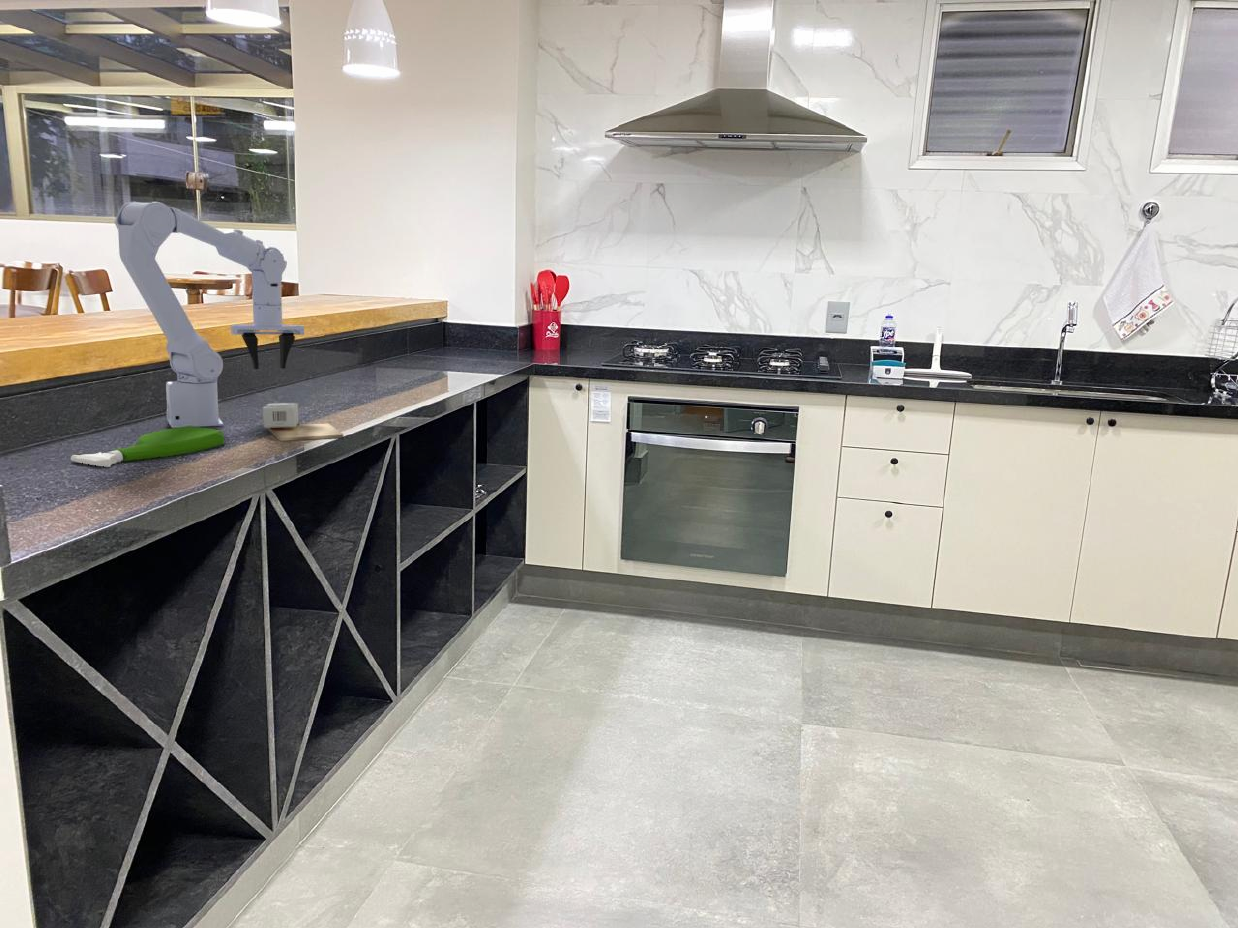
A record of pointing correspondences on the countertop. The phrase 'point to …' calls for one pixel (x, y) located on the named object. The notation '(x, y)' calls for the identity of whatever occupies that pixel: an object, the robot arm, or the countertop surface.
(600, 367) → the countertop surface
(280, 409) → the skincare box
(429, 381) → the countertop surface
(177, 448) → the spray bottle
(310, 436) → the cork mat
